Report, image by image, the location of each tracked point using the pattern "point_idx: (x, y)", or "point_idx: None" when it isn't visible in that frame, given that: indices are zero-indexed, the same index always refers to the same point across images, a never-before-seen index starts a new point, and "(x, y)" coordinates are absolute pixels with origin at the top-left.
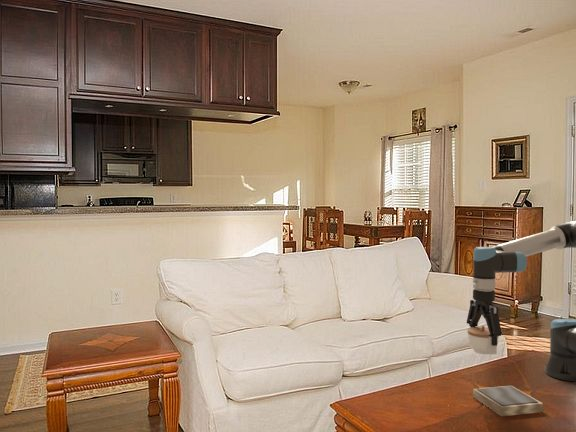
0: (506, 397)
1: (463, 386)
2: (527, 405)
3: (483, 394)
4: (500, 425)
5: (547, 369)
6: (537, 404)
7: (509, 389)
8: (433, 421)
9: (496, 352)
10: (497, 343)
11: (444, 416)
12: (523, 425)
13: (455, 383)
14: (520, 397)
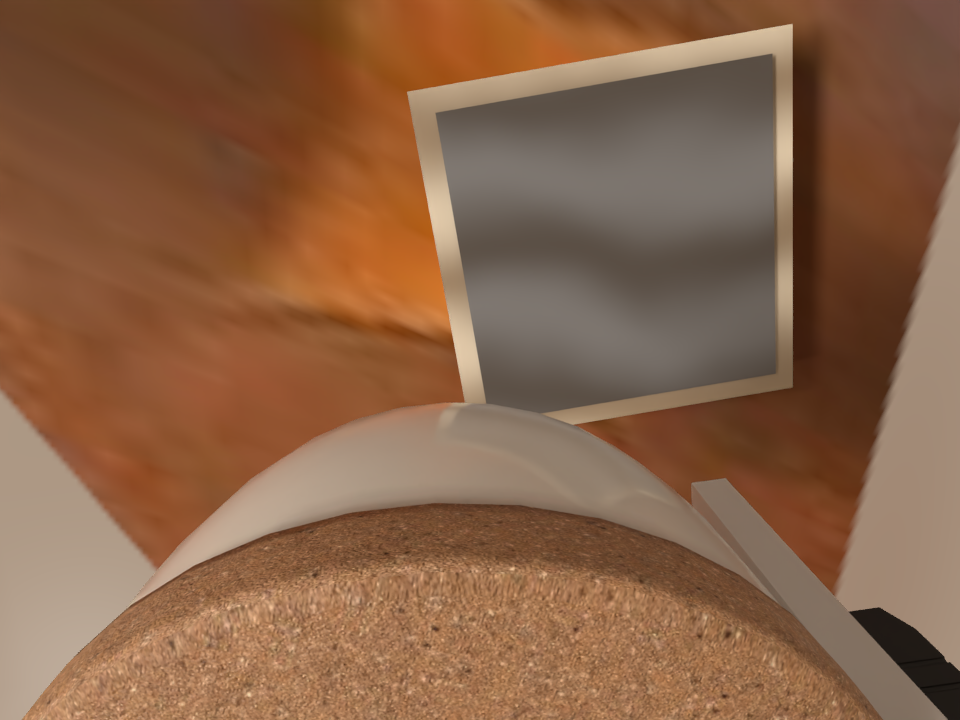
0: (660, 278)
1: (285, 408)
2: (790, 176)
3: (574, 411)
4: (858, 425)
5: None
6: (789, 79)
7: (511, 168)
8: None
9: (737, 492)
10: (674, 491)
11: None
12: (892, 295)
13: (231, 441)
14: (675, 163)
